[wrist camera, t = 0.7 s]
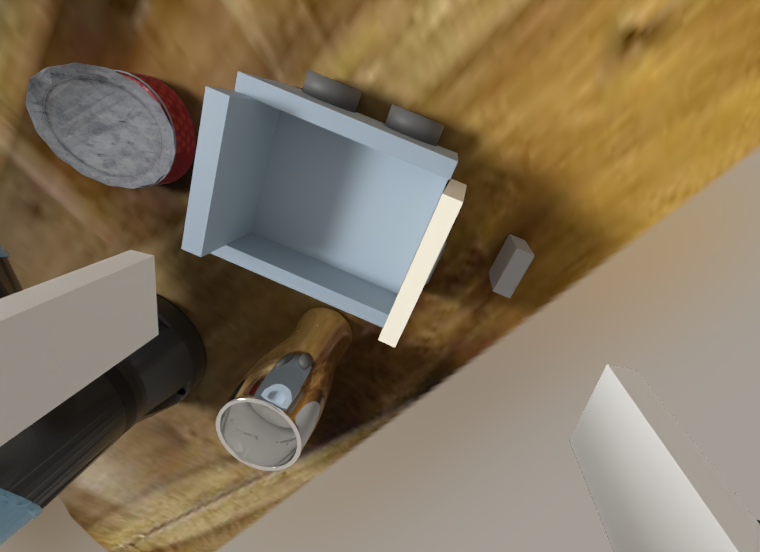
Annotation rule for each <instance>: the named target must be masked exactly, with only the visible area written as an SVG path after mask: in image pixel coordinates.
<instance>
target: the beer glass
mask: <svg viewBox="0 0 760 552" xmlns="http://www.w3.org/2000/svg"><path fill="white" fill-rule="evenodd" d="M351 342H352V330H351V327H350V325H349V323H348V321H347V320H346V319H345V317H344V316H342V315H341V314H340V313H339V312H337V311H335V310H333V309H330V308H326V307H316V308H312V309H310V310H308V311H307V312H305V313H304V314H303V315H302V317H301V318H300V320H299V322H298V324H297V326H296V329H295V331H294V333H293V334H292V335H291V336H290V337H288V338H287V339H286V340H284V341H283V342H282V343H280V344H279V345H277V346H276V347H275V348H273V349H272V350H271V351H269V352H268V353H267V354H266V355H265V356H263V357H262V358H261V359H260V360H259V361H258V362H257V363H256V364H255V365H254V366H253V367H252V368H251V369H250V370H249V371H248V373H247V374H246V375H245V376H244V378H243V379H242V380H241V381H240V383H239V384H238V385H237V387H236V388H235V390H234V391H233V392H232V394H231V395H230V397H229V398H228V400H227V401H226V403H225V404H224V405H223V406H222V407H221V409H220V410H219V412H218V414H217V417H216V431H217V434H218V437H219V439H220V441H221V443H222V444H223V446H224V447H225V448H226V449H227V451H228V452H229V453H230V454H231V455H233V456H234V457H235V458H236V459H238V460H239V461H241V462H242V463H244V464H246V465H248V466H250V467H253V468H256V469H260V470H266V471H277V470H282V469H285V468H287V467H289V466H291V465H292V464H293V463H294V462H295V461H296V460H297V459H298V457H299V455H300V453H301V451H302V449H303V448H304V446H305V444H306V443H307V441H308V440H309V438H310V436H311V434H312V433H313V431H314V429H315V427H316V426H317V424H318V422H319V420H320V418H321V416H322V413H323V411H324V409H325V406H326V404H327V401H328V397H329V394H330V390H331V386H332V382H333V377H334V372H335V368H336V364H337V362H338V360H339V359H340V358H341V357H342V356H343V354H344V353H345V352H346V351H347V350H348V348H349V347H350V345H351Z"/></svg>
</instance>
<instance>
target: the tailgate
mask: <svg viewBox="0 0 760 552" xmlns="http://www.w3.org/2000/svg"><path fill="white" fill-rule="evenodd" d="M466 187H467V185H465V184H463V183H461V182H458V181H456V180H454V179H451V180H450V182H449V184H448V185H447V187H446V189H445V190H444V192H443V193H442V196H441V198H440V200H439V202H438V205H437V207H436V209H435V212H434V214H433V216H432V218H431V221H430V223H429V225H428V227H427V230H426V232H425V234H424V236H423V239H422V241H421V243H420V246H419V248H418V250H417V252H416V255H415V257H414V259H413V261H412V264H411V266H410V268H409V270H408V273H407V275H406V277H405V280H404V282H403V284H402V286H401V289H400V291H399V293H398V295H397V298H396V300H395V302H394V304H393V307H392V309H391V311H390V314H389V316H388V318H387V320H386V323H385V325H384V327H383V329H382V332H381V334H380V336H379V338H378V340H379V341H381V342H383V343H386V344H388V345H390V346H392V347H394V348H395V347H396V345H397V342H398V340H399V338H400V336H401V334H402V332H403V330H404V328H405V325H406V323H407V321H408V319H409V317H410V315H411V313H412V311H413V308H414V306H415V304H416V302H417V300H418V298H419V296H420V294H421V291H422V289H423V287H424V285H425V283H427V284H428V282H429V280H430V278H431V276H432V274H433V272H434V270H435V267H436V265H437V263H438V261H439V259H440V257H441V255H442V253H443V251H444V248H445V246H446V244H447V242H446V241H445V240H446V238H447V236H448V234H449V232H450V230H451V228H452V225H453V223H454V221H455V219H456V217H457V215H458V213H459V211H460V208H461V206H462V204H463V202H464V197H465V192H466Z"/></svg>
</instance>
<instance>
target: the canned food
mask: <svg viewBox="0 0 760 552" xmlns="http://www.w3.org/2000/svg"><path fill="white" fill-rule="evenodd" d="M25 105H26V107H27V109H28V112H29V114H30V116H31V119H32V122H33V124H34V127H35V129H36V132H37V133H38V134H39V135H40V136H41V138H42V139H43V140H44V141H45V142H46V143H47V144H48V146H49V147H50V148H51V149H52V151H53V152H54V153H55V154H56V156H57V157H59V158H60V159H62V160H63V161H65V162H66V163H68V164H69V165H71V166H72V167H73V168H75V169H76V170H77V171H78V172H80V173H81V174H82V175H85V176H87V177H90V178H92V179H95V180H97V181H99V182H102V183H104V184H106V185H108V186H117V187H125V188H132V189H134V188H147V187H151V186H156V185H161V184H167V183H171V182H174V181H176V180H178V179H179V178H181V177H182V176H183V175H184V174H185V173H186V172H187V171H188V169H189V168H190V166H191V164H192V161H193V159H194V154H195V149H196V137H195V130H194V126H193V123H192V119H191V117H190V114H189V112H188V110H187V108H186V106H185V105H184V103H183V102H182V100H181V99H180V97H179V96H178V95H177V94H176V93H175V92H174V91H173V90H172V89H171V88H170V87H169V86H167V85H166V84H165V83H163V82H162V81H160V80H158V79H156V78H154V77H150V76H147V75H142V74H136V73H130V72H125V71H121V70H111V69H109V68H104V67H99V66H93V65H87V64H81V63H71V64H66V65H61V66H54V67H47V68H45V69H44V70H42V71H40V72H39V73H38V74H36V75H35V76H33V77H32V78H30V80H29V85H28V91H27V97H26V104H25Z"/></svg>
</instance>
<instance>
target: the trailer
mask: <svg viewBox="0 0 760 552" xmlns="http://www.w3.org/2000/svg"><path fill="white" fill-rule="evenodd" d="M361 94H362V92H361V91H359V90H356V89H354V88H352V87H349V86H347V85H344V84H342V83H339V82H337V81H334V80H332V79H329V78H327V77H325V76H322V75H320V74H317V73H315V72H312V71H310V70H307V74H306V78H305V82H304V86H303V90H302V89H300V88H297V87H295V86H291V85H288V84H284V83H280V82H276V81H273V80H269V79H265V78H262V77H258V76H254V75H250V74H247V73H243V72H239V71H238V74H237V79H236V85H235V90H234V91H231V90H225V89H220V88H214V87H208V86H206V88H205V95H204V102H203V108H202V115H201V122H200V128H199V135H198V141H197V148H196V155H195V161H194V168H193V174H192V181H191V188H190V194H189V201H188V207H187V214H186V221H185V227H184V234H183V240H182V247H181V249H183V250H185V251H187V252H190V253H192V254H194V255H197V256H199V257H203V256H205V255H207V254H209V253H211V254H213V255H215V256H218V257H220V258H222V259H225V260H227V261H229V262H232V263H234V264H236V265H239V266H241V267H243V268H246V269H248V270H250V271H253V272H255V273H257V274H259V275H262V276H264V277H266V278H269V279H271V280H273V281H276V282H278V283H280V284H283V285H285V286H287V287H290V288H292V289H294V290H297V291H299V292H301V293H304V294H306V295H308V296H310V297H313V298H315V299H317V300H320V301H322V302H324V303H327V304H329V305H331V306H334V307H336V308H338V309H341V310H343V311H345V312H348V313H350V314H352V315H355V316H357V317H359V318H361V319H364V320H366V321H368V322H371V323H373V324H375V325H378V326H380V327H382V328H383V327H384V325H385V323H386V320H387V318H388V316H389V314H390V311H391V309H392V307H393V304H394V302H395V300H396V297H397V294H398V292H399V290H400V287H401V285H402V283H403V281H404V278H405V276H406V274H407V272H408V269H409V267H410V265H411V262H412V260H413V258H414V256H415V253H416V251H417V249H418V247H419V244H420V242H421V240H422V238H423V235H424V233H425V231H426V228H427V226H428V224H429V222H430V219H431V217H432V215H433V213H434V210H435V208H436V206H437V203H438V201H439V199H440V197H441V194H442V192H443V190H444V188H445V185H446V183H447V181H448V180H450V179H451V176H452V174H453V172H454V170H455V167H456V165H457V163H458V153H456V152H453V151H451V150H448V149H446V148H443V147H441V146H439V145H437V144H438V141H439V139H440V136H441V134H442V132H443V129H444V127H445V125H442V124H440V123H437V122H435V121H432V120H430V119H427V118H425V117H423V116H420V115H418V114H415V113H413V112H410V111H408V110H405V109H403V108H400V107H398V106H396V105H393V104H392V105H391V108H390V111H389V114H388V117H387V119H386V122H385V123H383V122H380V121H378V120H375V119H373V118H370V117H368V116H365V115H363V114H361V113H358V112H356V110H357V107H358V104H359V100H360V97H361ZM534 257H535V255H534V253H533V252H532V250H531V249H530V247H529V245H528V244H527V242H526V241H525V240H523V239H521V238H518V237H516V236H514V235H511V234H509V235H508V237H507V239H506V241H505V243H504V245H503V246H502V248H501V250H500V252H499V254H498V256H497V258H496V259H495V261H494V263H493V265H492V267H491V269H490V270H489V272H488V273H489V277H490V282H491V286H492V291H493V292H495V293H498V294H500V295H503V296H505V297H507V298H510V297H511V296H512V294H513V292H514V290H515V289H516V287H517V285H518V284H519V282H520V280H521V279H522V277H523V275H524V273H525V272H526V270H527V268H528V267H529V265H530V263H531V262H532V260H533V258H534Z"/></svg>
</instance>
